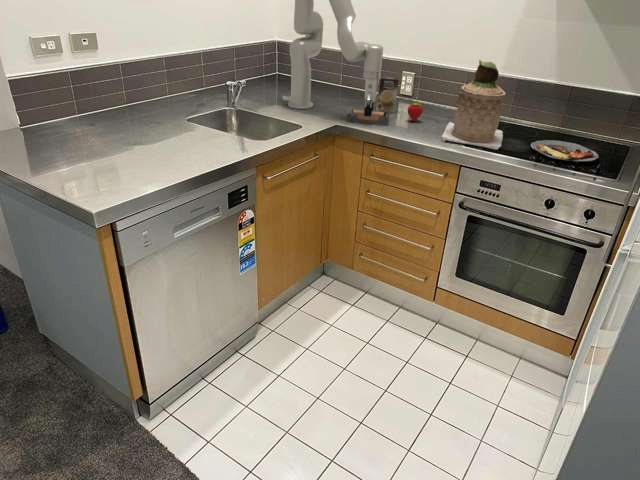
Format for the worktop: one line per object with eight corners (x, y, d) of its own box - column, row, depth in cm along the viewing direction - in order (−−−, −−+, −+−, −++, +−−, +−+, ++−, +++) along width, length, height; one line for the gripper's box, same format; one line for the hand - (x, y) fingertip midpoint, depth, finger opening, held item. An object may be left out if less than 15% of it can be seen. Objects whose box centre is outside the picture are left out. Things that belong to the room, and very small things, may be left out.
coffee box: (376, 111, 239) (379, 78, 231) (376, 108, 245) (379, 75, 236) (394, 113, 238) (398, 79, 230) (394, 109, 244) (398, 76, 236)
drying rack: (346, 121, 222) (346, 114, 220) (348, 115, 231) (349, 108, 229) (387, 125, 220) (388, 118, 218) (388, 119, 228) (389, 112, 227)
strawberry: (403, 119, 229) (406, 98, 224) (417, 118, 231) (420, 97, 226) (409, 123, 224) (412, 101, 219) (423, 122, 227) (427, 100, 222)
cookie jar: (500, 151, 197) (520, 68, 181) (439, 141, 204) (453, 61, 187) (503, 134, 217) (521, 58, 201) (447, 126, 224) (460, 52, 208)
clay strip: (382, 121, 222) (383, 114, 221) (352, 118, 224) (352, 111, 222) (383, 118, 226) (383, 112, 224) (353, 116, 227) (353, 109, 226)
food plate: (610, 163, 189) (613, 154, 187) (560, 168, 183) (563, 159, 181) (565, 143, 210) (567, 135, 208) (519, 147, 204) (520, 139, 202)
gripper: (379, 79, 207) (375, 119, 216) (381, 71, 222) (377, 109, 230) (361, 78, 208) (358, 117, 217) (365, 70, 223) (362, 107, 231)
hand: (368, 113), depth 223 cm, fingers open, 9 cm apart
